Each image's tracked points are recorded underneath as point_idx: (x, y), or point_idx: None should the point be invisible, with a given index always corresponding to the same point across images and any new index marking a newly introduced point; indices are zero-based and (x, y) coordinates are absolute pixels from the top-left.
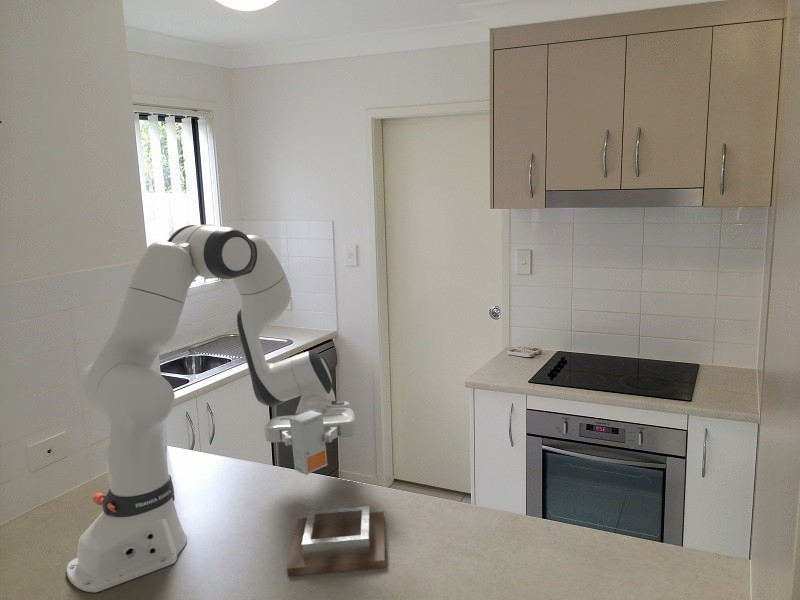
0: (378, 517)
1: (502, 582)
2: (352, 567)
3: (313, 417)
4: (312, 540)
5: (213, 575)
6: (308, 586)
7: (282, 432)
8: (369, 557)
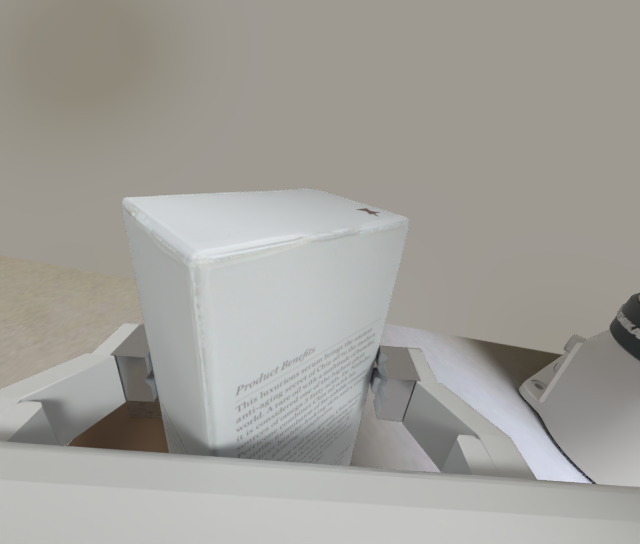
0: (104, 420)
1: (65, 278)
2: None
3: (225, 193)
4: None
5: (427, 354)
6: None
7: (498, 432)
8: None
